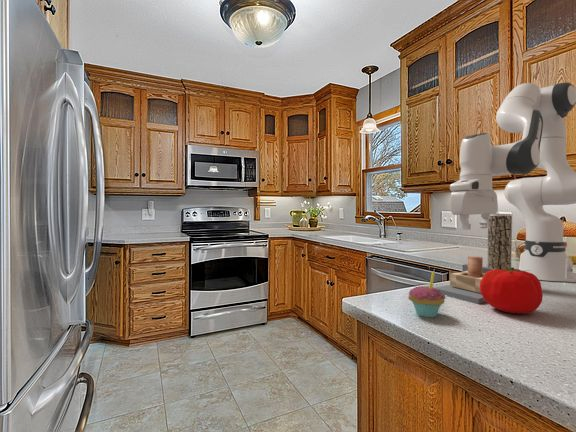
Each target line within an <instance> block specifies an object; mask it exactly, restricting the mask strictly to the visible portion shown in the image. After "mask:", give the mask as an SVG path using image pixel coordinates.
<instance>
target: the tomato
mask: <svg viewBox="0 0 576 432" xmlns="http://www.w3.org/2000/svg"><path fill="white" fill-rule="evenodd" d="M527 271H529V270H527ZM480 292H481V295H482V296H483V298H484V299H485V301H486V302H485V303H487V304H489V305H490V307H491V308H495V309H497V310H498V311H499V310H500V311H502V312H504V313H511V314H530V313H533V312H535V311H537V309H538V308H539V307H540V305H541V304H542V302H543V294H544V293H543V290H542V284H541V280H538V278H537V277H536V276H535V275H534V274H532V273H529V272H526V271H522V270H521V271H520V270H519V268H515V267H513V266H511V269H509V268H507V269H494V270H490V271H488V272H486V273H485V274H484V276H483V278H482V280H481V282H480Z"/></svg>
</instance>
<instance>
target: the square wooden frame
mask: <svg viewBox="0 0 576 432" xmlns="http://www.w3.org/2000/svg"><path fill="white" fill-rule="evenodd" d="M484 274H485V273H482V277H481V278H477V277H472V276H468V271H463V270H462V271H459V272H453V273H450V274H449V277H450V278H449V285H450V286H452V287H456V288H461V289H465V290H470V291H474V292H478V293H481V292H480V282H481V280H482V278H483V276H484Z"/></svg>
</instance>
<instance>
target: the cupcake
mask: <svg viewBox="0 0 576 432" xmlns="http://www.w3.org/2000/svg"><path fill="white" fill-rule="evenodd" d="M435 274H436V273H435V268H434V269H433V271H431V276H430V281H429V286H424V285H421V286H415V287H413V288H411V289H410V290H409V291H408V300H410V301H411V302H412V304H413V306H414V310H415V312H416V314H417V315H418V316H420V317H424V318H435V317H437V316H438V313H439V310H440V307H441V306H442V305H443V304H445V300H446V296H445V295H444V294H442V292H440V291H439V290H437V289H436V288H435V287H434V286H433V285H434V279H435Z"/></svg>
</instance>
